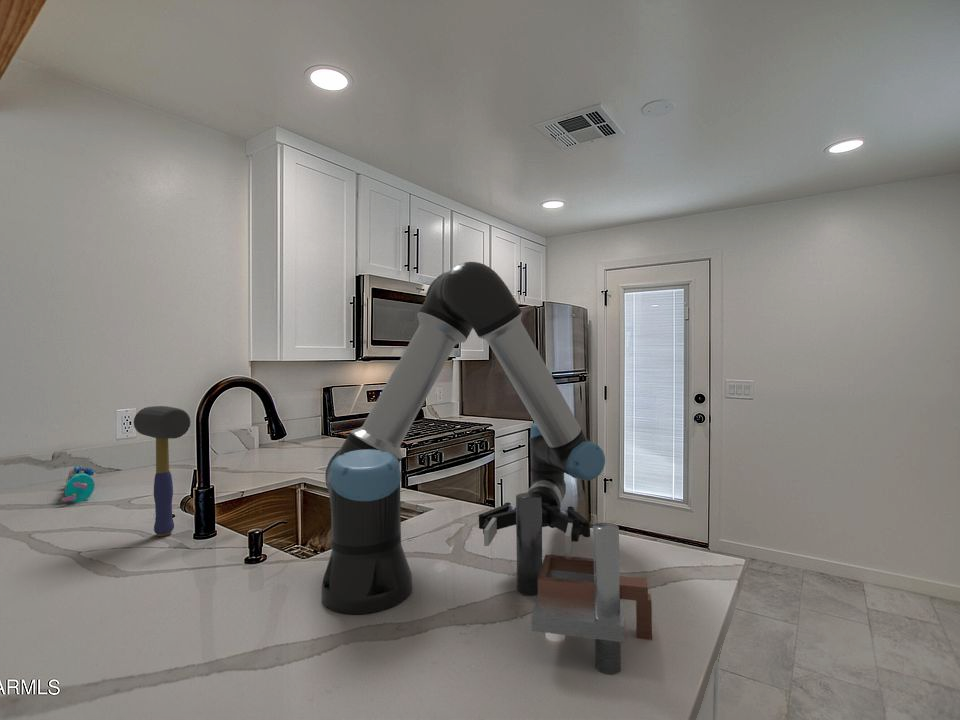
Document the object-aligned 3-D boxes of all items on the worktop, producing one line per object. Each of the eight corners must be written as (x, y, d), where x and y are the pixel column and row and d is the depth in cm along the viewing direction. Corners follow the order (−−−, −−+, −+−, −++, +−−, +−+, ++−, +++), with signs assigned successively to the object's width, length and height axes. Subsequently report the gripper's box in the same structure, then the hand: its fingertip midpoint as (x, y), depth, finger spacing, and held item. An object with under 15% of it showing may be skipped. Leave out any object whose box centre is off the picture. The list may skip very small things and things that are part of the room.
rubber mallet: (132, 535, 113) (130, 406, 113) (166, 525, 120) (164, 403, 120) (161, 544, 107) (159, 408, 107) (195, 533, 114) (193, 405, 114)
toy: (59, 504, 137) (55, 484, 159) (94, 506, 142) (85, 487, 164) (70, 475, 138) (64, 459, 160) (104, 478, 144) (94, 462, 166)
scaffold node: (532, 665, 63) (530, 526, 63) (546, 607, 78) (544, 494, 78) (659, 683, 59) (656, 535, 59) (648, 619, 74) (647, 500, 74)
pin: (514, 593, 82) (513, 499, 82) (519, 582, 87) (518, 492, 86) (540, 596, 81) (539, 500, 81) (544, 584, 85) (543, 493, 85)
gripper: (604, 525, 98) (604, 570, 78) (484, 517, 104) (454, 557, 84) (603, 488, 98) (603, 523, 78) (483, 482, 104) (453, 513, 84)
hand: (526, 541), depth 81 cm, fingers open, 13 cm apart
